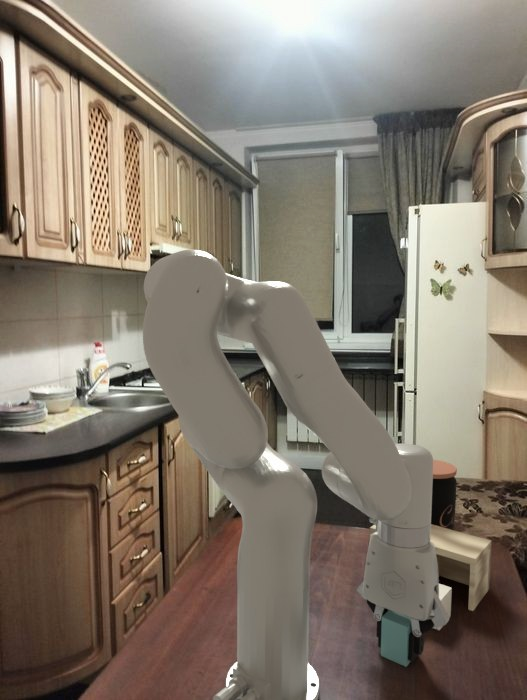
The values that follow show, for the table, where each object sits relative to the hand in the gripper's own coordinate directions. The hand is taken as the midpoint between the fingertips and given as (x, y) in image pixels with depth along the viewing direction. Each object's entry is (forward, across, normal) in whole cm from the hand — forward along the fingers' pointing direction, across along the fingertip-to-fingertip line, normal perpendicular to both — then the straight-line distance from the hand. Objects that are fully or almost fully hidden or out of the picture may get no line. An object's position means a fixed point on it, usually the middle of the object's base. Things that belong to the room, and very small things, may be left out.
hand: (399, 648), depth 81 cm
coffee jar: (+1, -10, +36) cm, 37 cm away
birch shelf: (+1, -5, +23) cm, 24 cm away
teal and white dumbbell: (+1, 0, +6) cm, 6 cm away
